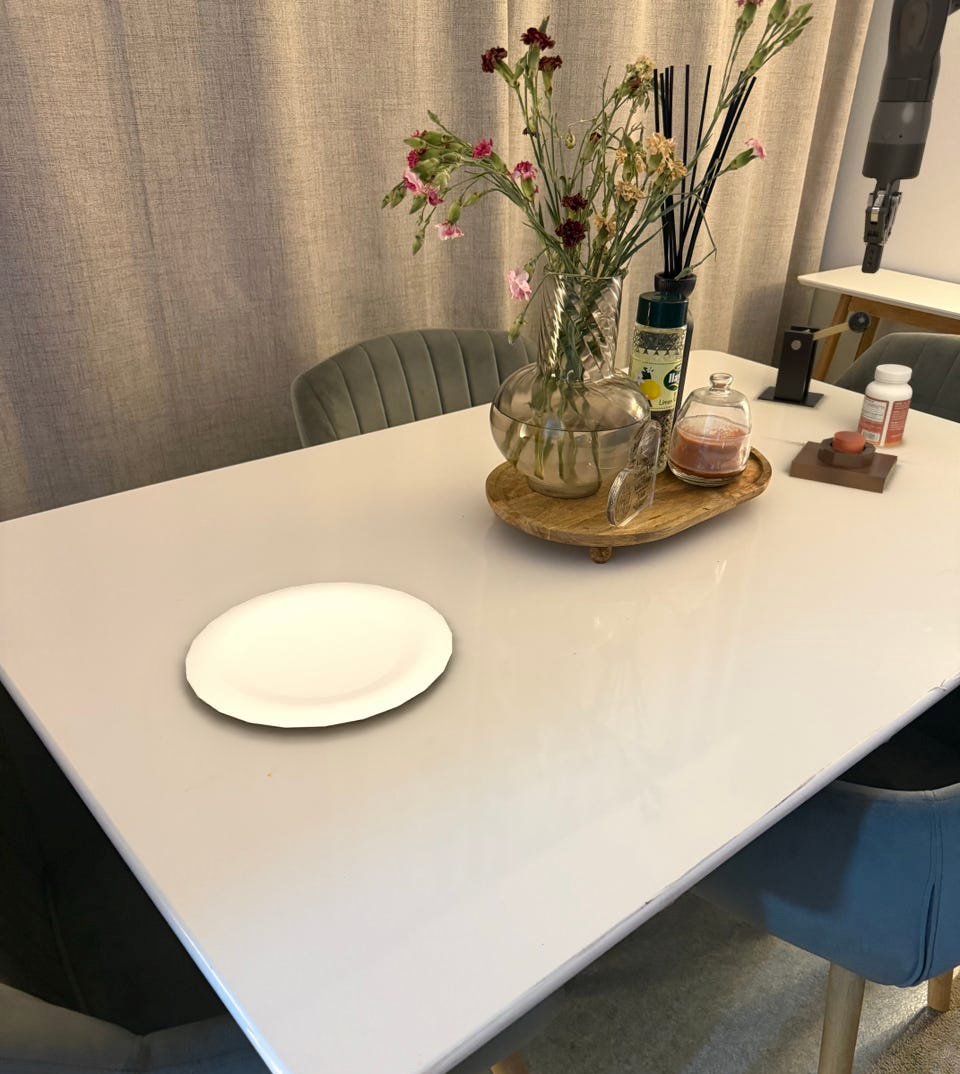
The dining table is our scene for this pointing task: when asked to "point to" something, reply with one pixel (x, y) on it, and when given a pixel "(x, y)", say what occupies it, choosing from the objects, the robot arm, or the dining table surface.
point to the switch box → (844, 466)
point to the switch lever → (847, 325)
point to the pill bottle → (886, 405)
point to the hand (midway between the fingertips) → (869, 271)
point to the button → (848, 441)
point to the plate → (319, 655)
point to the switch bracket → (795, 369)
